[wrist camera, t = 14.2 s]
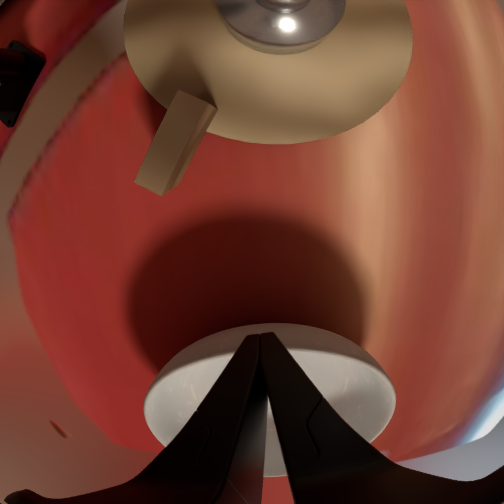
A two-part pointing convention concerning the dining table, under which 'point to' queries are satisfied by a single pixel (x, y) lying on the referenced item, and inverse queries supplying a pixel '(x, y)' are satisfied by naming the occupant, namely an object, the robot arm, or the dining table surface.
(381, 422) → the serving bowl
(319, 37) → the cover
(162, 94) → the tan piece
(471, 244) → the dining table surface
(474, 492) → the robot arm
